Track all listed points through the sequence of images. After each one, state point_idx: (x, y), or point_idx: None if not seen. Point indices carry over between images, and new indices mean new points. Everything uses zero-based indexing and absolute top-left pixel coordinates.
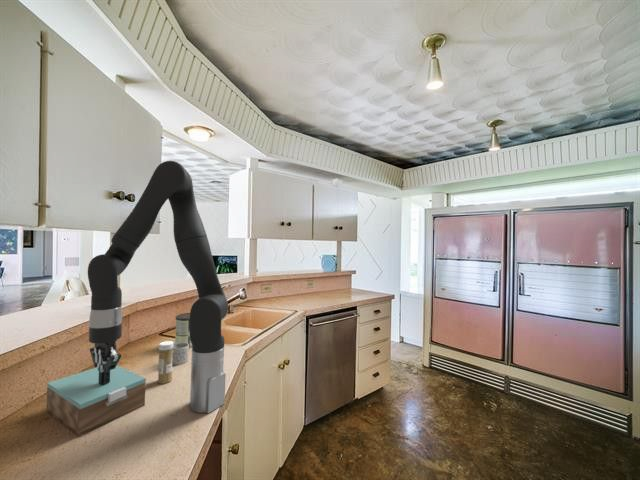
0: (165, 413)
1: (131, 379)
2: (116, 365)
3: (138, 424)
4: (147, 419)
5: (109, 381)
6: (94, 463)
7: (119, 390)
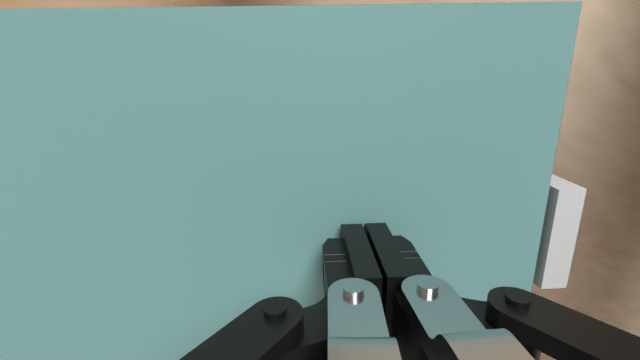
0: (635, 6)
1: (484, 91)
2: (586, 315)
3: (582, 134)
4: (589, 90)
5: (385, 225)
6: (626, 312)
7: (572, 232)
